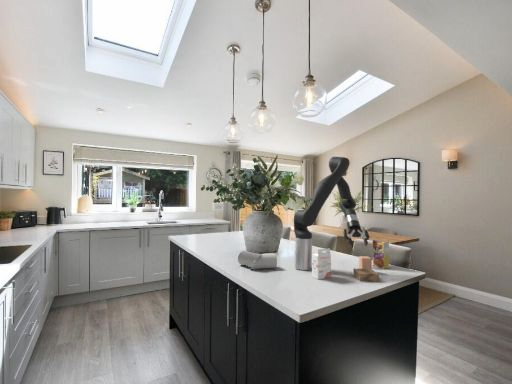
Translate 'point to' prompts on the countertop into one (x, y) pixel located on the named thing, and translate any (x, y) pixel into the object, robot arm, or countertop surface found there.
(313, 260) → the ink cartridge box
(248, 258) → the bent grey cylinder
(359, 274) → the walnut block
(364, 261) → the terracotta block
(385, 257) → the candy box
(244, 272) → the countertop surface
